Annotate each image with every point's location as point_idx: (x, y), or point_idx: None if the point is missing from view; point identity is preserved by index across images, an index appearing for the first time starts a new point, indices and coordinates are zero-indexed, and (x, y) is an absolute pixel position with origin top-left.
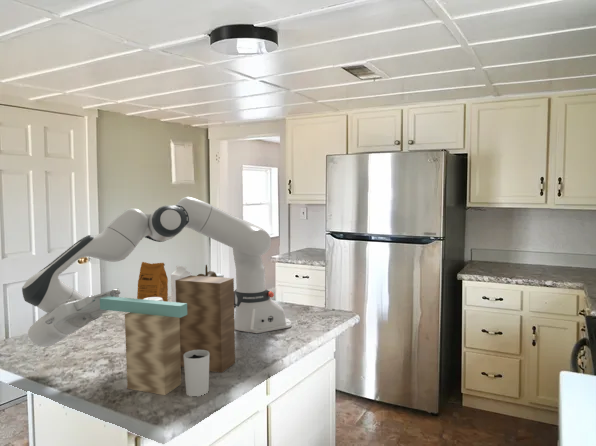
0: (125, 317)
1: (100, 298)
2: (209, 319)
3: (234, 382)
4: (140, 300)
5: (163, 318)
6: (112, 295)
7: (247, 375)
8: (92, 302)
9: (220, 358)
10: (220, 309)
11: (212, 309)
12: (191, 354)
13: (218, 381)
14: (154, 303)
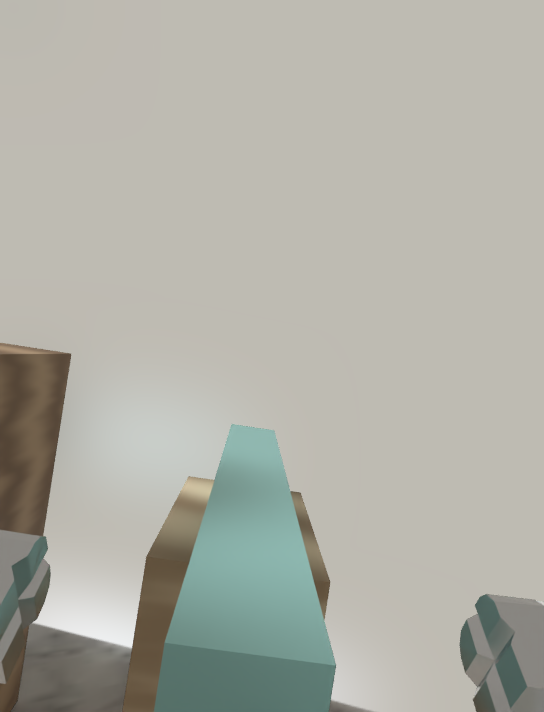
0: (325, 600)
1: (326, 658)
2: (26, 513)
3: (106, 655)
4: (247, 475)
5: (296, 493)
6: (3, 666)
7: (49, 639)
8: (478, 706)
9: (23, 648)
10: (55, 454)
11: (40, 465)
12: None
13: (100, 691)
14: (276, 453)
